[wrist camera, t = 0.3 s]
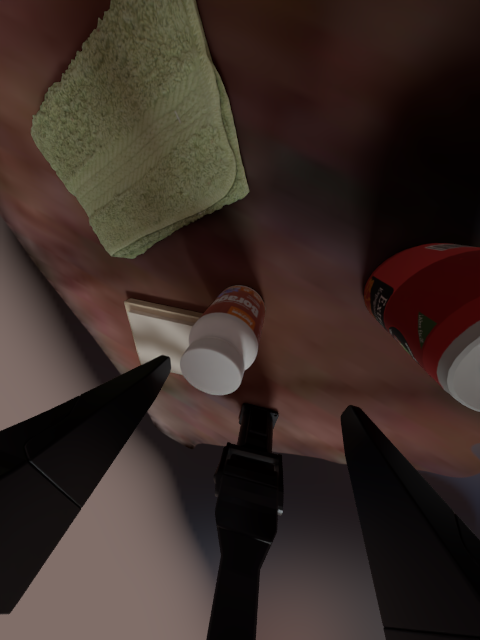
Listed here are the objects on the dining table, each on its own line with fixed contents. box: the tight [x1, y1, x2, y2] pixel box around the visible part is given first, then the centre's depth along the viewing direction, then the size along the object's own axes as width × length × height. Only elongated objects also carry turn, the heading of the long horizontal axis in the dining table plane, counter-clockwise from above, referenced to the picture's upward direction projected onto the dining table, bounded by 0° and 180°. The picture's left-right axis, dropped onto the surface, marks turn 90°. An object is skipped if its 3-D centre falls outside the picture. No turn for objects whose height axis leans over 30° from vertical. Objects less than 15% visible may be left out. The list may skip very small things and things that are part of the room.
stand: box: [124, 298, 203, 375], centre depth 26 cm, size 12×12×2 cm
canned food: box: [364, 243, 480, 412], centre depth 12 cm, size 8×8×11 cm
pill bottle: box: [180, 285, 265, 395], centre depth 17 cm, size 6×6×11 cm
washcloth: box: [31, 0, 249, 259], centre depth 15 cm, size 13×18×3 cm
